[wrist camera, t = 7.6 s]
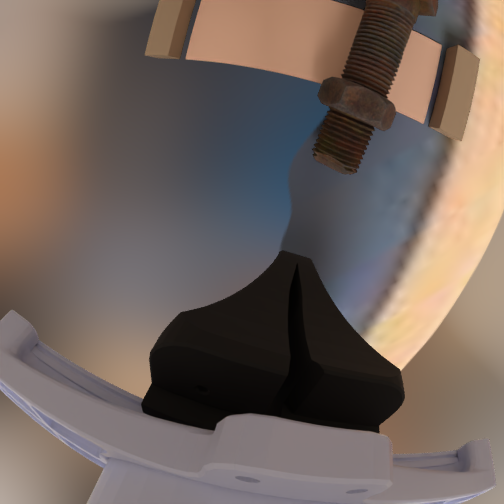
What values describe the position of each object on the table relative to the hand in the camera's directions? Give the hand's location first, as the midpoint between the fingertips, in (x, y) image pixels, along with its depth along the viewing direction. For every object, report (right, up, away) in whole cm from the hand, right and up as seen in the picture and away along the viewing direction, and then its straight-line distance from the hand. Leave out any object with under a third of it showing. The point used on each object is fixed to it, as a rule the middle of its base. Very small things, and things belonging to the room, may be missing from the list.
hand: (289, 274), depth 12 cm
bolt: (+6, +14, +3) cm, 15 cm away
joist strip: (+3, +16, +3) cm, 16 cm away
